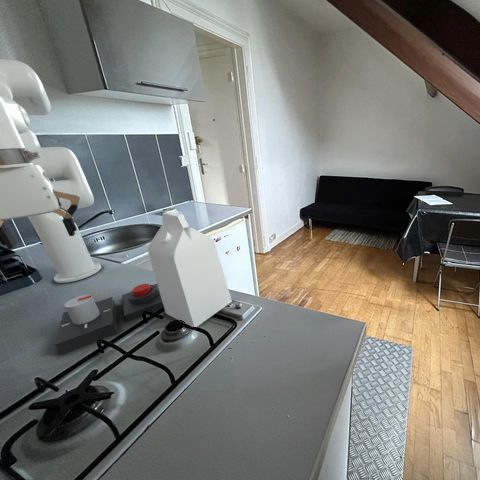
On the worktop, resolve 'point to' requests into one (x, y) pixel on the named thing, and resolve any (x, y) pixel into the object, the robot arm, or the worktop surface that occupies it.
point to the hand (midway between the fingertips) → (44, 240)
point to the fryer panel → (87, 328)
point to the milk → (187, 271)
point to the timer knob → (82, 309)
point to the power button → (141, 290)
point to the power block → (141, 303)
